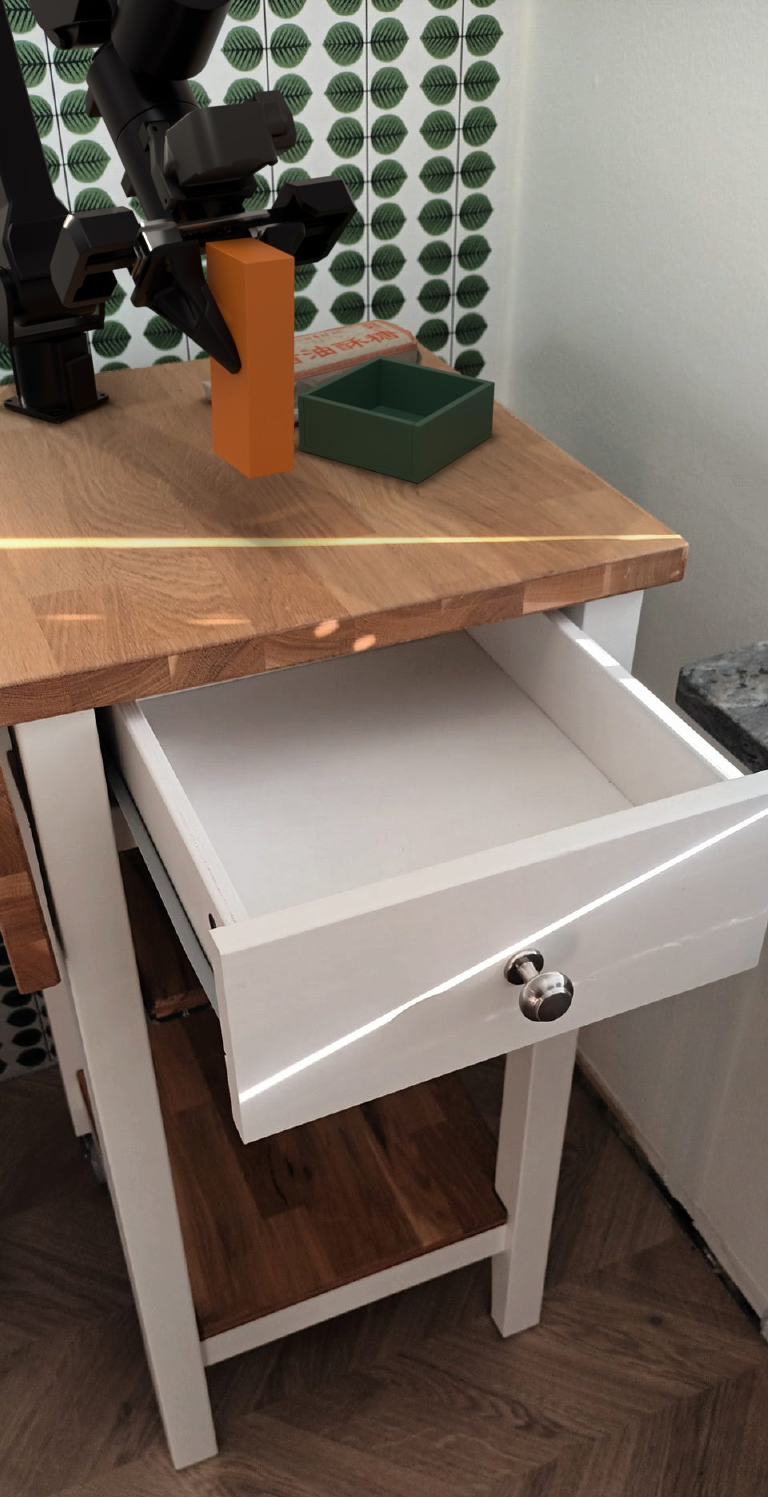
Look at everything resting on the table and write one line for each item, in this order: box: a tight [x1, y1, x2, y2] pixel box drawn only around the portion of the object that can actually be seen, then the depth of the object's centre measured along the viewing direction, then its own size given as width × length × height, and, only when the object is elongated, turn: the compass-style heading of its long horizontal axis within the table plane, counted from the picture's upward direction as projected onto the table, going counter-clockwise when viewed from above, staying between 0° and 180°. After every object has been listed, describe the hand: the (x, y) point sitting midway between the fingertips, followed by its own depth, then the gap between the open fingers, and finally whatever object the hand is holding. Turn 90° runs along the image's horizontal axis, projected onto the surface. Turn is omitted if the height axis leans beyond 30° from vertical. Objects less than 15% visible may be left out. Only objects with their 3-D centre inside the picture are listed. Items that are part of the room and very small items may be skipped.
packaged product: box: [202, 319, 423, 424], centre depth 107 cm, size 18×5×10 cm
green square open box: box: [297, 356, 496, 484], centre depth 99 cm, size 11×11×4 cm
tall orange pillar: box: [205, 237, 295, 480], centre depth 76 cm, size 5×3×13 cm, turn 34°
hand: (262, 365), depth 75 cm, fingers closed on tall orange pillar, 3 cm apart
